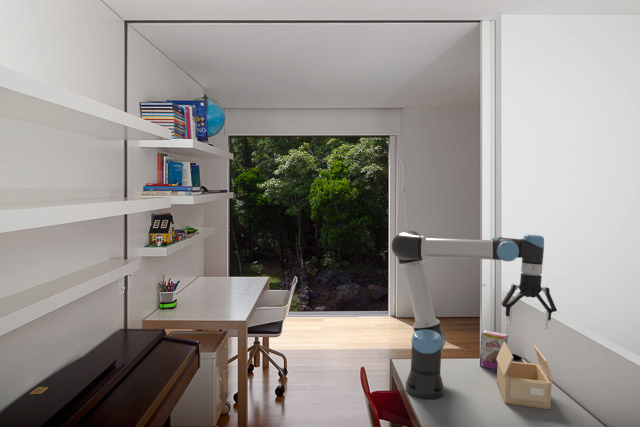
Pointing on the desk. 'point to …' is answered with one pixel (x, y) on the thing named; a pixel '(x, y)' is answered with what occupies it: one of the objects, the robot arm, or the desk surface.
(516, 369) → the carton
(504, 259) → the robot arm
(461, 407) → the desk surface
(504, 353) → the flap
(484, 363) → the candy bar box
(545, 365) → the flap
